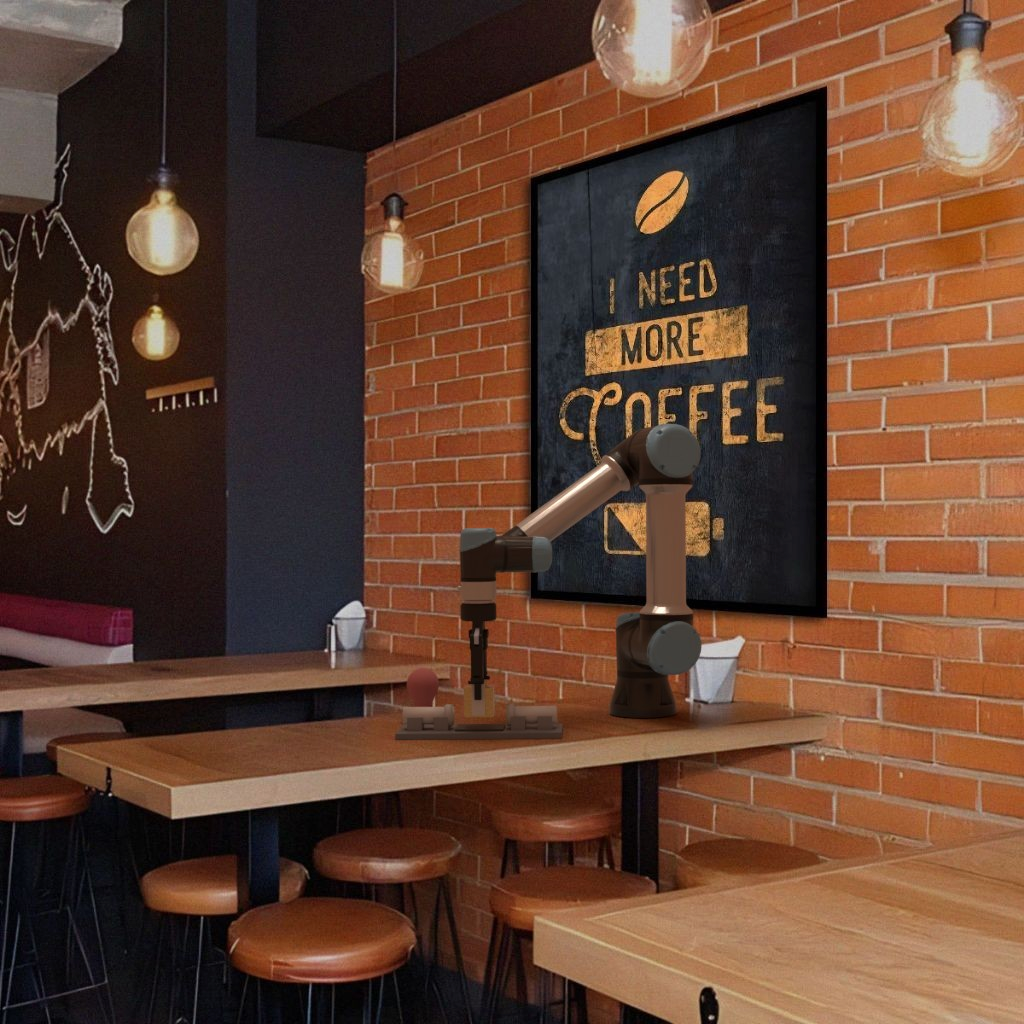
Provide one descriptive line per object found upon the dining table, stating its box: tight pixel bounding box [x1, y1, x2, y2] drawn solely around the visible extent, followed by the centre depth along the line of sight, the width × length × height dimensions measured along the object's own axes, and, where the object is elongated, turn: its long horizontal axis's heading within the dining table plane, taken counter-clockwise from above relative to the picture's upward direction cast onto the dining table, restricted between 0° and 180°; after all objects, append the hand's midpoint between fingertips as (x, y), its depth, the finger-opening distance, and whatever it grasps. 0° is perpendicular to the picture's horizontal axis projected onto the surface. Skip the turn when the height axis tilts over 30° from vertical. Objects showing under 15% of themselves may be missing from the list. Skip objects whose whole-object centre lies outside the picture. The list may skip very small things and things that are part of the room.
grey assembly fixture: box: [394, 703, 563, 741], centre depth 278 cm, size 34×12×6 cm, turn 87°
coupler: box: [463, 684, 496, 718], centre depth 278 cm, size 5×6×6 cm
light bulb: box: [406, 667, 440, 707], centre depth 296 cm, size 7×7×12 cm
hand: (479, 713), depth 278 cm, fingers closed on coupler, 5 cm apart
